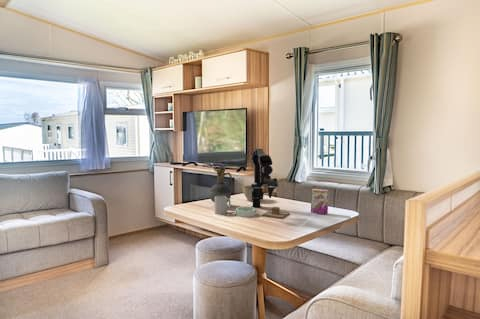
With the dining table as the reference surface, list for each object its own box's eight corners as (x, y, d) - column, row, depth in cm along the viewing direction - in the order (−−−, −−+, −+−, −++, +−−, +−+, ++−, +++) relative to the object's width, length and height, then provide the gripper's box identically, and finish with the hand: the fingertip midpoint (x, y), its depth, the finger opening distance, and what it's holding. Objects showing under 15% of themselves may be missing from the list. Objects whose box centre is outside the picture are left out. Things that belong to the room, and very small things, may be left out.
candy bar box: (310, 213, 236) (311, 189, 235) (311, 211, 241) (312, 188, 239) (327, 214, 232) (328, 190, 231) (328, 213, 237) (328, 189, 236)
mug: (218, 214, 230) (218, 198, 229) (212, 212, 236) (212, 196, 235) (233, 212, 237) (233, 196, 236) (226, 210, 243) (226, 194, 242)
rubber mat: (268, 211, 239) (268, 211, 239) (290, 214, 232) (290, 213, 232) (259, 216, 225) (259, 216, 225) (282, 220, 218) (282, 219, 218)
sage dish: (241, 212, 238) (241, 205, 238) (258, 214, 233) (258, 207, 232) (232, 216, 227) (232, 209, 226) (250, 218, 221) (250, 211, 221)
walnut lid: (269, 211, 238) (269, 204, 238) (289, 214, 232) (289, 206, 231) (261, 216, 226) (261, 208, 225) (281, 218, 219) (282, 211, 219)
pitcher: (207, 206, 254) (207, 165, 252) (226, 202, 268) (226, 164, 265) (217, 208, 247) (217, 167, 244) (236, 204, 260) (236, 165, 258)
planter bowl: (240, 198, 284) (240, 185, 283) (259, 197, 287) (259, 185, 287) (245, 202, 268) (245, 188, 267) (265, 201, 272) (265, 188, 271)
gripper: (262, 174, 213) (262, 199, 212) (283, 174, 224) (284, 198, 224) (250, 174, 221) (250, 198, 221) (271, 174, 233) (272, 197, 232)
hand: (264, 198), depth 224 cm, fingers open, 9 cm apart
